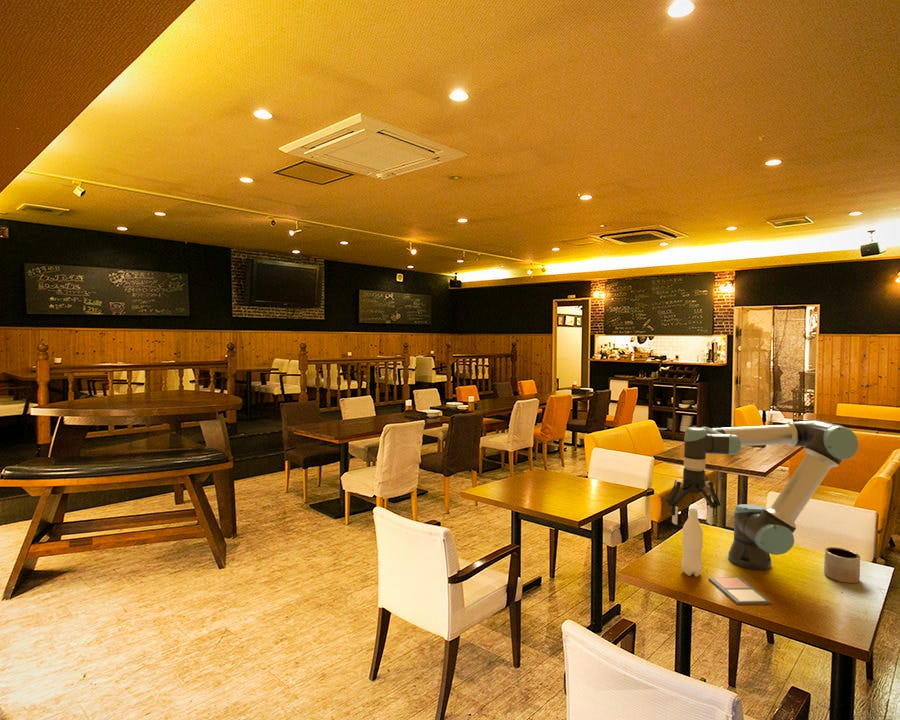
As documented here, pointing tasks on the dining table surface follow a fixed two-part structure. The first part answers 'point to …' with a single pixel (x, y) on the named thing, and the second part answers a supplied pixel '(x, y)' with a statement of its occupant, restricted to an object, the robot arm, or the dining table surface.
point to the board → (739, 591)
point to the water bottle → (692, 544)
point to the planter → (842, 565)
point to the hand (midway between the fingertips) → (692, 523)
